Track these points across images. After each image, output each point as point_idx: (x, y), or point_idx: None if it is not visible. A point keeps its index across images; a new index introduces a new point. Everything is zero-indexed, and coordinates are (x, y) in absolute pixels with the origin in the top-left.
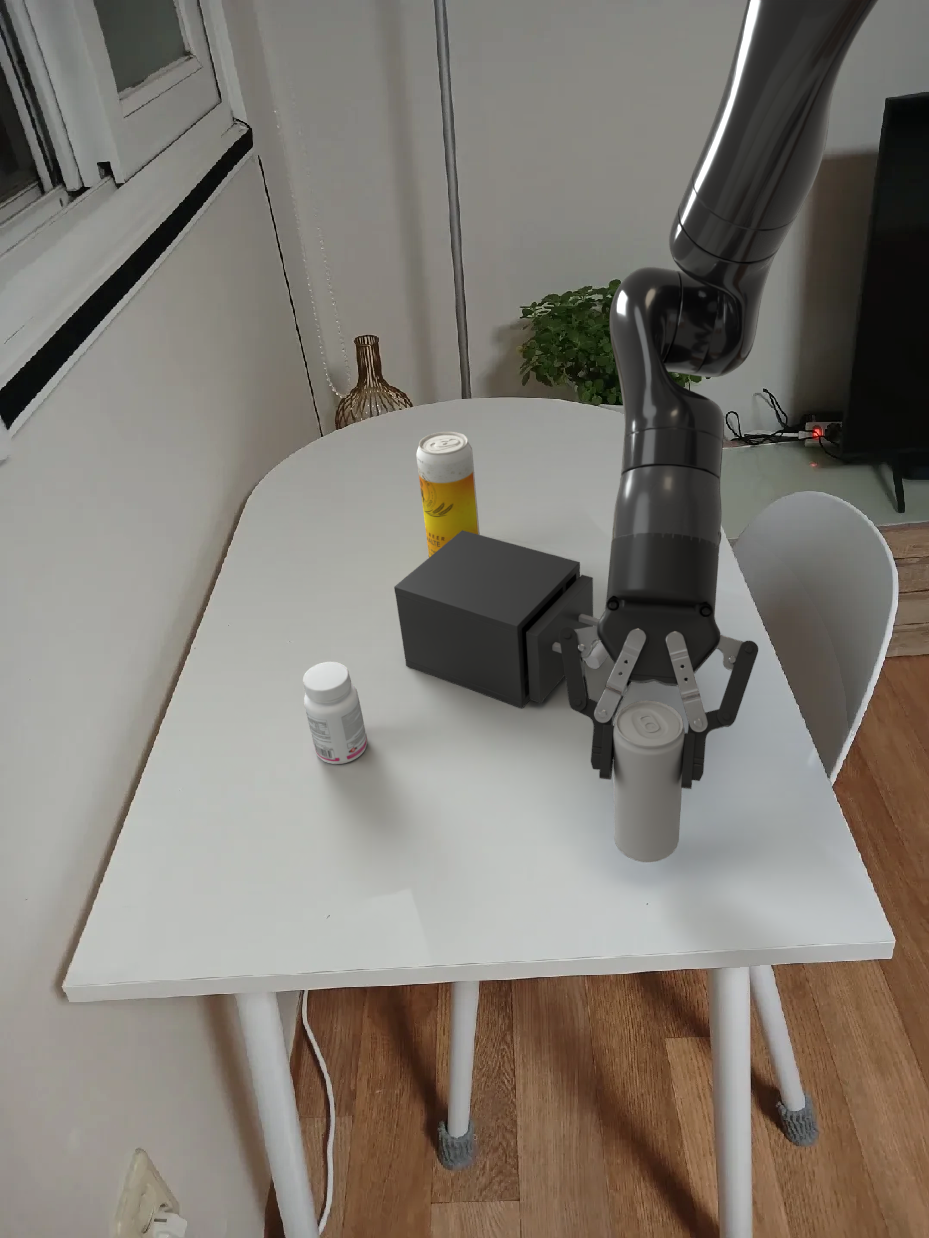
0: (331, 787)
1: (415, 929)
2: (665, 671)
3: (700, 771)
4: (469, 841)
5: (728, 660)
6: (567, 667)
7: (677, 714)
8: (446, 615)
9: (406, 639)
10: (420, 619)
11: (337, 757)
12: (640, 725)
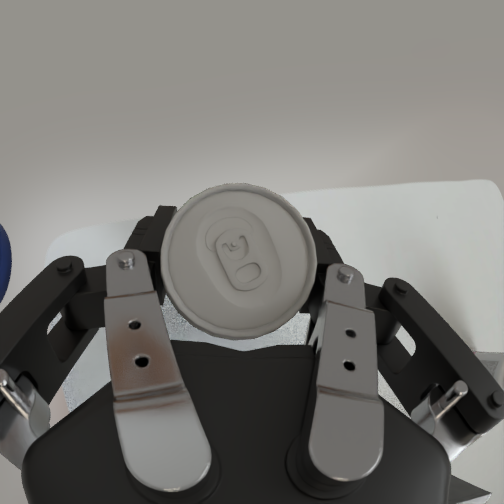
0: (468, 331)
1: (390, 209)
2: (205, 370)
3: (142, 223)
4: None
5: (21, 397)
6: (456, 341)
7: (173, 291)
8: (454, 496)
9: (454, 477)
10: (462, 488)
11: (474, 353)
12: (259, 250)
